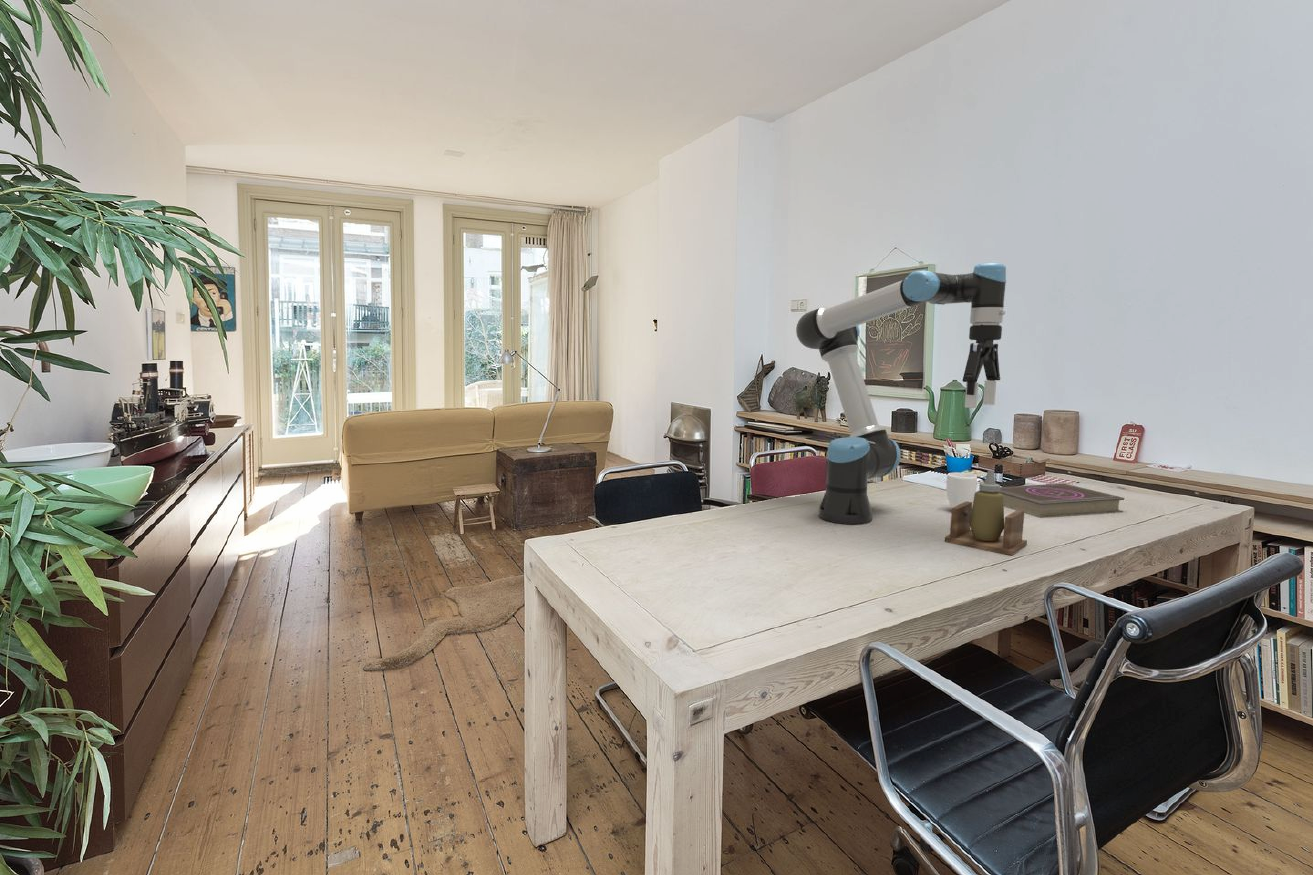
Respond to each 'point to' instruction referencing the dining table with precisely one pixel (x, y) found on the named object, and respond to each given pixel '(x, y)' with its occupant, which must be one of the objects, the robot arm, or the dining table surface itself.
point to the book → (1058, 500)
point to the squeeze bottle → (987, 510)
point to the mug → (961, 488)
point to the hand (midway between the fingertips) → (979, 406)
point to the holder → (1004, 545)
